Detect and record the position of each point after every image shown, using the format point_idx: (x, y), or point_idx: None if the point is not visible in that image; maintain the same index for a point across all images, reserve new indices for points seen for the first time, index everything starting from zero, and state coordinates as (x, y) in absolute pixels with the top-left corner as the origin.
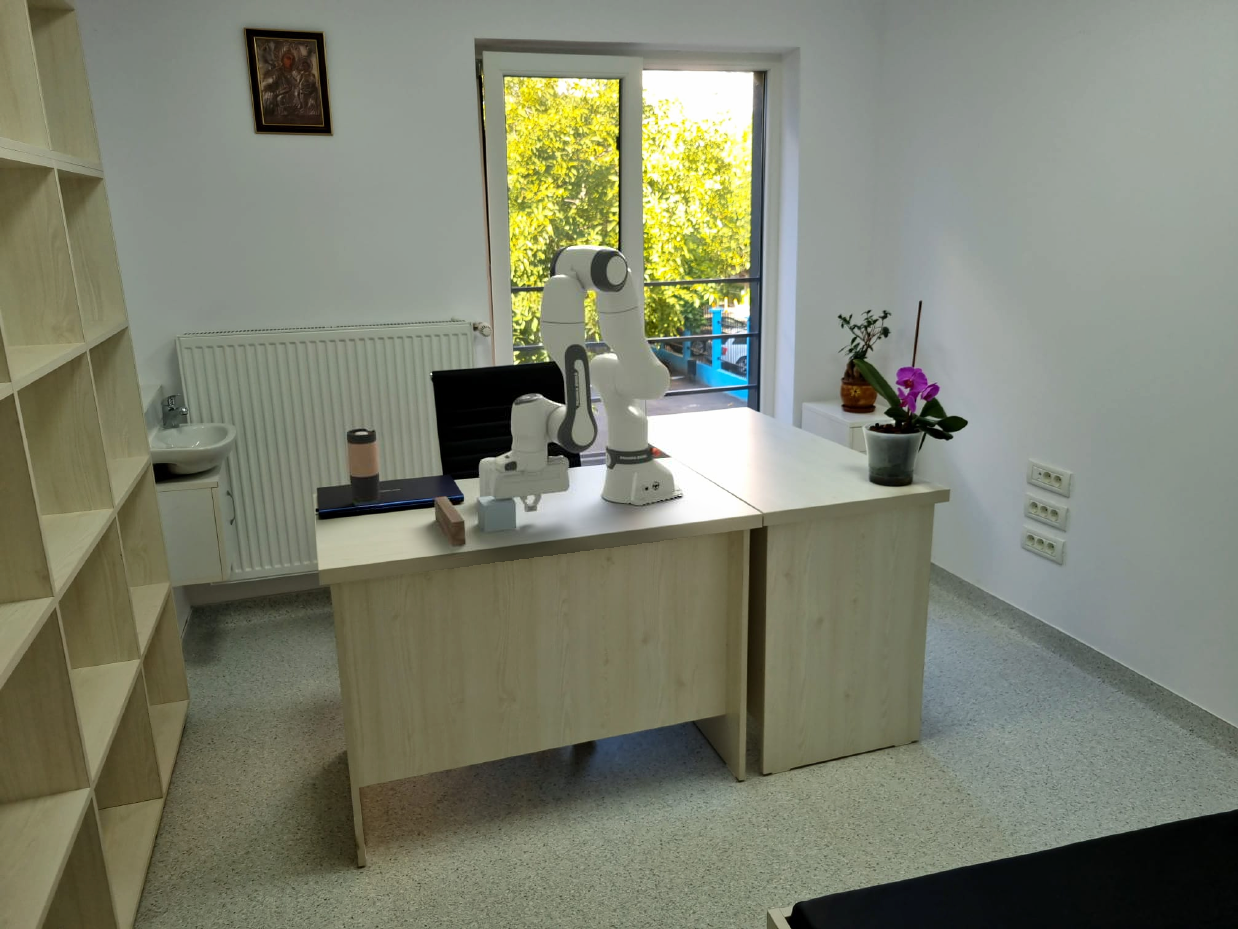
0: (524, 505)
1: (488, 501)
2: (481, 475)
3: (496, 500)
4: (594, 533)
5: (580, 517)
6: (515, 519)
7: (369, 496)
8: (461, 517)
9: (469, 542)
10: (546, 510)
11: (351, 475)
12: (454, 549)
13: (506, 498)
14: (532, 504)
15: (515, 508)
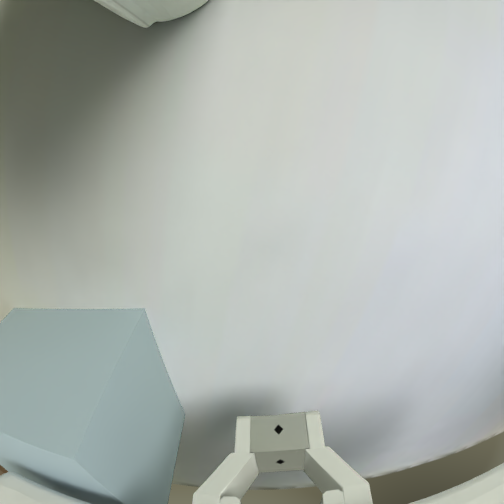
0: (235, 449)
1: (15, 469)
2: None
3: (47, 483)
4: (425, 459)
5: (495, 352)
6: (175, 449)
7: None
8: (3, 473)
9: None
10: (439, 210)
11: None
12: None
13: (95, 498)
14: (293, 463)
15: (167, 499)
